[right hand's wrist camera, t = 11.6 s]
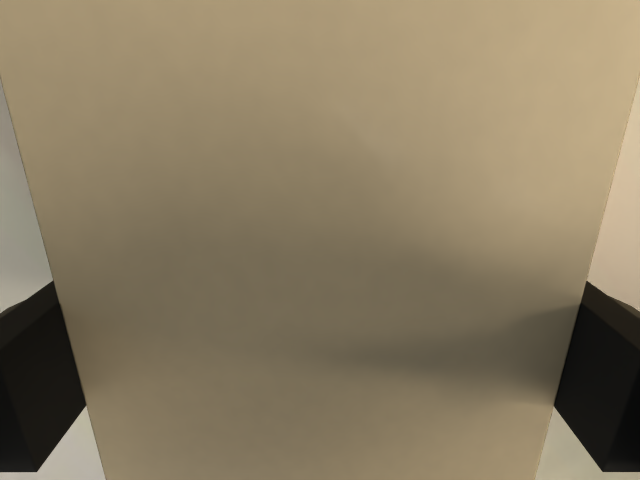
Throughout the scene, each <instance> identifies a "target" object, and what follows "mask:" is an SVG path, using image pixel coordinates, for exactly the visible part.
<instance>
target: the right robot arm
mask: <svg viewBox="0 0 640 480" xmlns="http://www.w3.org/2000/svg"><path fill="white" fill-rule="evenodd" d="M85 406H86V402H85V398H84V394H83V391H82V387H81V383H80V379H79V375H78V372H77V368H76V364H75V360H74V356H73V353H72V349H71V345H70V341H69V337H68V334H67V330H66V326H65V322H64V318H63V315H62V311H61V307H60V303H59V299H58V296H57V292H56V288H55V284H54V280H53V281H52V282H50V283H49V284H48V285H46V286H45V287H43V288H42V289H41V290H39V291H38V292H36V293H35V294H34V295H32V296H31V297H29V298H28V299H27V300H25V301H22V302H20V303H18V304H16V305H14V306H11V307H9V308H7V309H6V310H5V311H3V312H2V313H0V472H37V471H38V470H39V468H40V467H41V466H42V464H43V463H44V462H45V460H46V459H47V458H48V456H49V455H50V454H51V452H52V451H53V450H54V448H55V447H56V445H57V444H58V443H59V441H60V440H61V439H62V437H63V436H64V435H65V433H66V432H67V431H68V429H69V428H70V427H71V425H72V424H73V423H74V421H75V420H76V418H77V417H78V416H79V414H80V413H81V412H82V410H83V409H84V408H85ZM554 407H555V408H556V410H557V411H558V412H559V414H560V415H561V416H562V418H563V419H564V420H565V422H566V423H567V424H568V426H569V427H570V429H571V430H572V431H573V433H574V434H575V435H576V437H577V438H578V439H579V441H580V442H581V443H582V445H583V446H584V447H585V449H586V450H587V451H588V453H589V454H590V456H591V457H592V458H593V460H594V461H595V462H596V464H597V465H598V466H599V468H600V469H601V470H602V472H640V312H639V311H638V310H636V309H635V308H633V307H632V306H630V305H628V304H625V303H623V302H621V301H619V300H616V299H614V298H612V297H610V296H607V295H606V294H605V293H603V292H602V291H600V290H599V289H598V288H596V287H595V286H593V285H592V284H591V283H589V282H588V281H586V284H585V288H584V292H583V295H582V299H581V303H580V307H579V311H578V315H577V319H576V322H575V326H574V330H573V334H572V338H571V342H570V345H569V349H568V353H567V357H566V361H565V365H564V368H563V372H562V376H561V380H560V384H559V388H558V391H557V395H556V399H555V403H554Z"/></svg>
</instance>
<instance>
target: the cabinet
mask: <svg viewBox="0 0 640 480" xmlns="http://www.w3.org/2000/svg"><path fill="white" fill-rule="evenodd" d="M639 77H640V0H0V79H1V83H2V87H3V91H4V94H5V98H6V102H7V106H8V110H9V113H10V117H11V121H12V125H13V129H14V132H15V136H16V140H17V144H18V148H19V151H20V155H21V159H22V163H23V167H24V170H25V174H26V178H27V182H28V186H29V189H30V193H31V197H32V201H33V205H34V208H35V212H36V216H37V220H38V224H39V227H40V231H41V235H42V239H43V243H44V246H45V250H46V254H47V258H48V262H49V265H50V269H51V273H52V277H53V280H54V284H55V288H56V292H57V296H58V299H59V303H60V307H61V311H62V315H63V318H64V322H65V326H66V330H67V334H68V337H69V341H70V345H71V349H72V353H73V356H74V360H75V364H76V368H77V372H78V375H79V379H80V383H81V387H82V391H83V394H84V398H85V402H86V406H87V410H88V413H89V417H90V421H91V425H92V429H93V432H94V436H95V440H96V444H97V448H98V451H99V455H100V459H101V463H102V467H103V470H104V474H105V478H106V480H535V476H536V472H537V468H538V464H539V461H540V457H541V453H542V449H543V445H544V441H545V438H546V434H547V430H548V426H549V422H550V418H551V415H552V411H553V407H554V403H555V399H556V395H557V391H558V388H559V384H560V380H561V376H562V372H563V368H564V365H565V361H566V357H567V353H568V349H569V345H570V342H571V338H572V334H573V330H574V326H575V322H576V319H577V315H578V311H579V307H580V303H581V299H582V295H583V292H584V288H585V284H586V280H587V276H588V272H589V269H590V265H591V261H592V257H593V253H594V249H595V246H596V242H597V238H598V234H599V230H600V226H601V223H602V219H603V215H604V211H605V207H606V203H607V199H608V196H609V192H610V188H611V184H612V180H613V176H614V173H615V169H616V165H617V161H618V157H619V153H620V150H621V146H622V142H623V138H624V134H625V130H626V126H627V123H628V119H629V115H630V111H631V107H632V103H633V100H634V96H635V92H636V88H637V84H638V80H639Z"/></svg>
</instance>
